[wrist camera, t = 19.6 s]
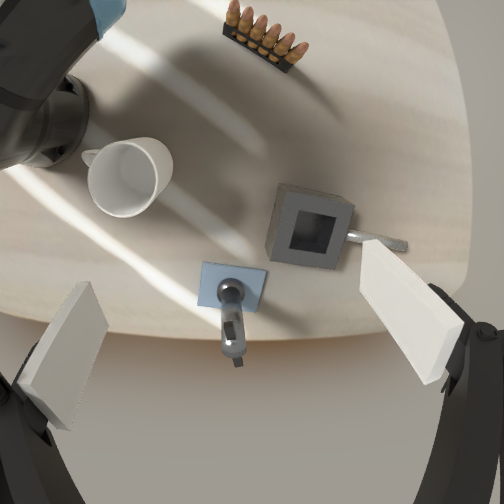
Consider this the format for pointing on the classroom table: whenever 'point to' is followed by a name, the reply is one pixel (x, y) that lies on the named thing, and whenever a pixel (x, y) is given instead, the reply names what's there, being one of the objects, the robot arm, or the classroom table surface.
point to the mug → (128, 175)
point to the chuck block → (314, 228)
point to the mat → (219, 272)
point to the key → (232, 319)
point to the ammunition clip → (253, 35)
